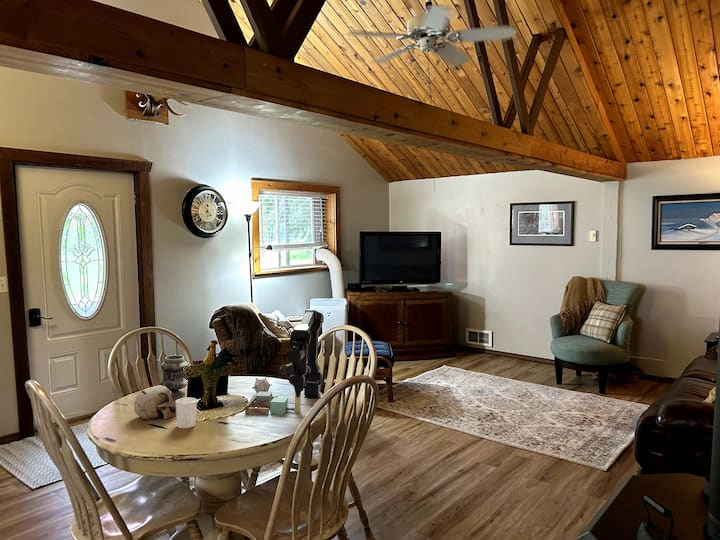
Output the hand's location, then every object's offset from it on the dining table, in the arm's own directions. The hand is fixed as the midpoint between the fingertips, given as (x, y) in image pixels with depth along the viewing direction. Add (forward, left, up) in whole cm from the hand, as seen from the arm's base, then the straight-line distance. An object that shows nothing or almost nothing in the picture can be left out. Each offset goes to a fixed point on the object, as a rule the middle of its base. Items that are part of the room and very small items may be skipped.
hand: (299, 394), depth 218 cm
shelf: (+17, -4, -8) cm, 19 cm away
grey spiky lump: (+22, -22, -8) cm, 33 cm away
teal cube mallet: (+6, 0, -8) cm, 10 cm away
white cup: (+41, +21, -8) cm, 47 cm away
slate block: (+18, -9, -8) cm, 21 cm away
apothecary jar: (+62, -16, -8) cm, 65 cm away
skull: (+56, +11, -8) cm, 58 cm away
